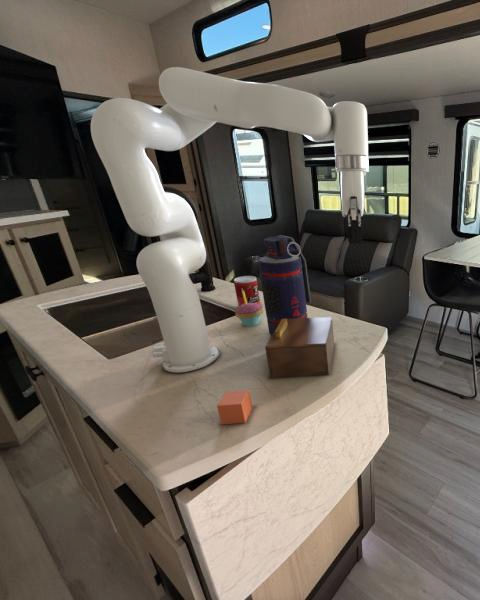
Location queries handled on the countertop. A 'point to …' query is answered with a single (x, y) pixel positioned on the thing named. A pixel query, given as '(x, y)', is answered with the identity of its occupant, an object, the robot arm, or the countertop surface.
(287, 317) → the grenade
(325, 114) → the robot arm
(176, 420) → the countertop surface
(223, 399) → the block
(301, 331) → the sliding door
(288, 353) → the storage box
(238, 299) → the canned food
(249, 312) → the cupcake
